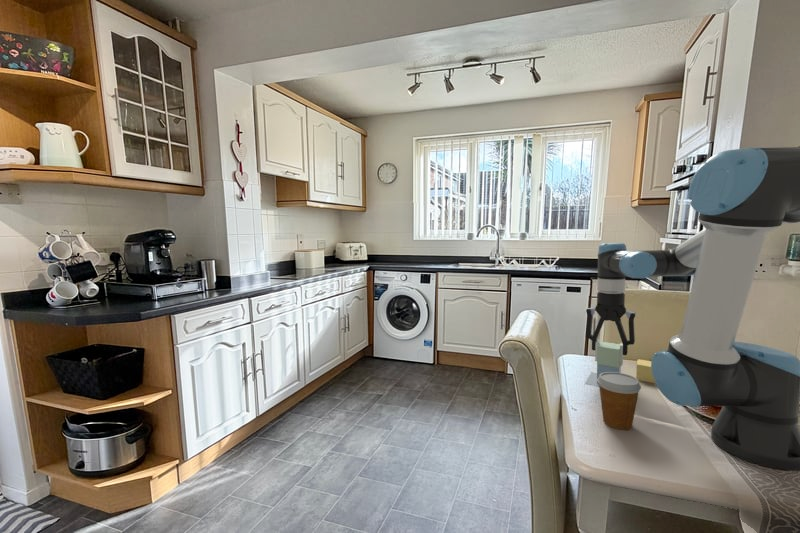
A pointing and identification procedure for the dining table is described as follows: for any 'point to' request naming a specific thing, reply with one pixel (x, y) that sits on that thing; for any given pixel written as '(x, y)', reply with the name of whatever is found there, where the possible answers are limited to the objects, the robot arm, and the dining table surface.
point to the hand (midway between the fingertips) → (608, 362)
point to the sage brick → (608, 354)
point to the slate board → (592, 379)
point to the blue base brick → (606, 369)
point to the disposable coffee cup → (618, 398)
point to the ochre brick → (644, 371)
